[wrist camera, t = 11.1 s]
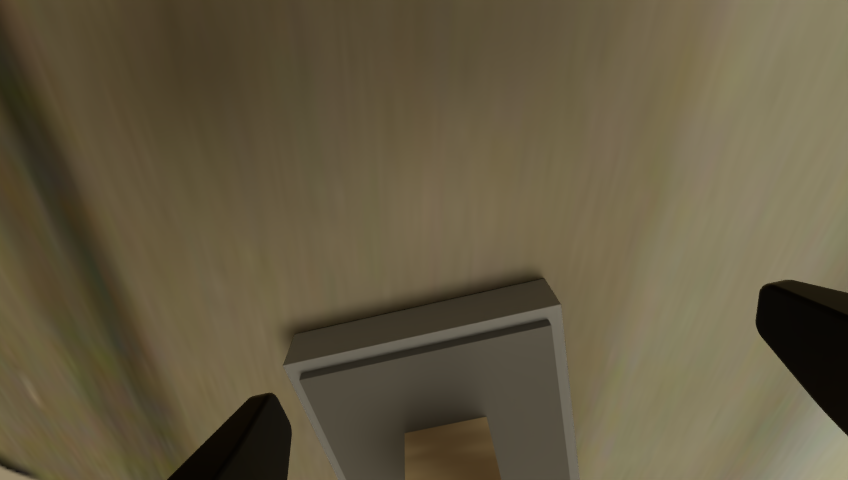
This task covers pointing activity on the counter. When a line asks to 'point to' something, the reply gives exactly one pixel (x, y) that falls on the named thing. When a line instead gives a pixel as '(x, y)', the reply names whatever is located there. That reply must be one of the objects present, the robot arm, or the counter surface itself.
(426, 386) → the plate
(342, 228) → the counter surface
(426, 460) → the oak block
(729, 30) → the counter surface
